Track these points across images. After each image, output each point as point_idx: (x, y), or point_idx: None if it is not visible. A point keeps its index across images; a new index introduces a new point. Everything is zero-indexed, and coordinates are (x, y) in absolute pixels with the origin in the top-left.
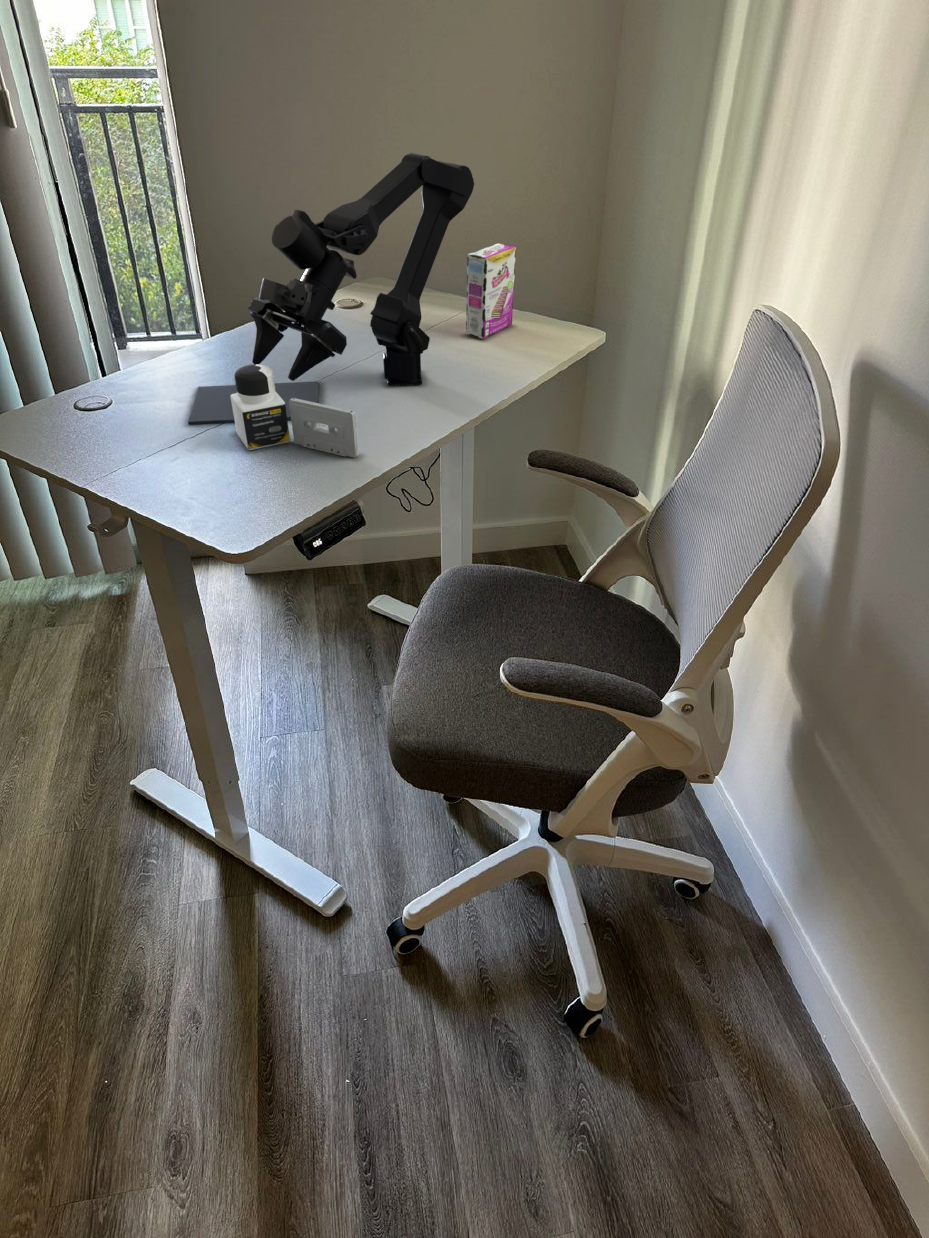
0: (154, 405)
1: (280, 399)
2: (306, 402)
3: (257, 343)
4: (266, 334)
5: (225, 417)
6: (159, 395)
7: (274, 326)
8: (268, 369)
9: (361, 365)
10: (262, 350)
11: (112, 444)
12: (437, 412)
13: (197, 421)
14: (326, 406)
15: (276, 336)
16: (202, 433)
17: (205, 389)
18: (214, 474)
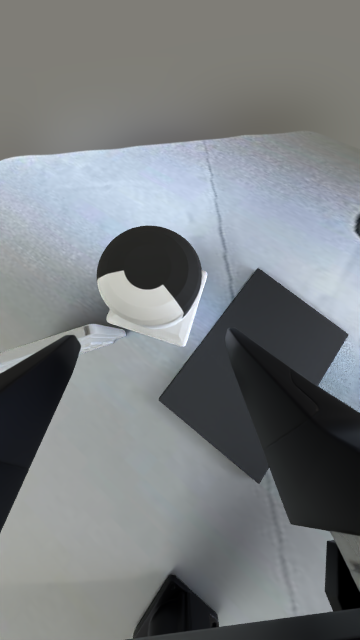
0: (331, 271)
1: (118, 320)
2: (50, 340)
3: (271, 364)
4: (297, 434)
5: (239, 306)
6: (355, 290)
7: (355, 546)
8: (118, 302)
9: (277, 599)
10: (245, 370)
11: (266, 194)
12: (36, 564)
13: (252, 276)
14: (1, 358)
15: (287, 479)
16: (226, 269)
17: (334, 336)
18: (132, 226)
